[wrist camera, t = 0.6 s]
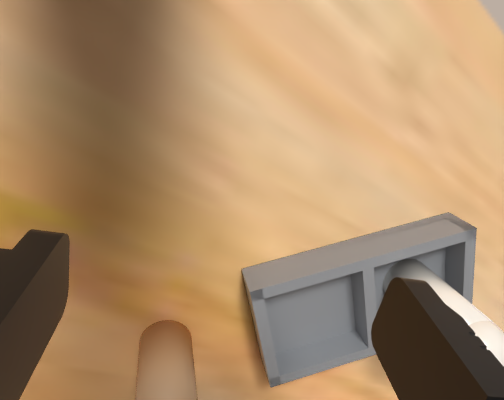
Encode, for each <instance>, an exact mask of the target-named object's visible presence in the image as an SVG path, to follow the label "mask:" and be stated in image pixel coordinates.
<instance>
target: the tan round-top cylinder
mask: <svg viewBox="0 0 504 400" xmlns="http://www.w3.org/2000/svg"><path fill="white" fill-rule="evenodd" d="M135 400H197V391H196V381H195V371H194V361H193V350H192V340H191V334H190V332H189V330H188V329H187V327H185V326H184V325H183V324H181V323H179V322H176V321H160V322H157V323H154V324H152V325H151V326H149V327H148V328H147V329H146V330H145V331H144V332H143V334H142V336H141V338H140V346H139V359H138V371H137V384H136V397H135Z"/></svg>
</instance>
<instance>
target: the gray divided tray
mask: <svg viewBox="0 0 504 400" xmlns="http://www.w3.org/2000/svg"><path fill="white" fill-rule="evenodd" d="M476 229H477V228H475V227H474V226H472V225H470V224H468V223H467V222H465V221H463V220H461V219H460V218H458V217H456V216H454V215H453V214H451V213H449V212H448V213H445V214H441V215H437V216H434V217H430V218H426V219H423V220H419V221H415V222H412V223H408V224H404V225H401V226H397V227H393V228H390V229H386V230H382V231H379V232H375V233H371V234H368V235H364V236H360V237H357V238H353V239H350V240H346V241H342V242H339V243H335V244H331V245H328V246H324V247H320V248H317V249H313V250H309V251H306V252H302V253H298V254H295V255H291V256H287V257H284V258H280V259H276V260H273V261H269V262H265V263H262V264H258V265H254V266H251V267H247V268H243V269H242V274H243V278H244V283H245V287H246V292H247V296H248V301H249V305H250V310H251V314H252V319H253V323H254V328H255V332H256V337H257V341H258V345H259V350H260V354H261V359H262V362H263V365H264V368H265V372H266V375H267V378H268V381H269V384H270V387H274V386H277V385H280V384H283V383H287V382H290V381H293V380H296V379H299V378H302V377H306V376H309V375H312V374H315V373H318V372H322V371H325V370H328V369H331V368H334V367H337V366H341V365H344V364H347V363H350V362H353V361H356V360H360V359H363V358H366V357H369V356H372V355H375V354H376V352H375V350H374V348H373V345H372V340H371V328H372V324H373V321H374V318H375V316H376V314H377V311H378V309H379V307H380V304H381V302H382V299H383V297H384V295H385V292H384V290H383V280H384V277H385V275H386V273H387V272H388V270H389V269H390V268H391V267H392V266H393V265H394V264H396V263H397V262H399V261H401V260H404V259H417V260H419V261H421V262H422V263H423V264H424V265H425V266H427V267H428V268H429V269H430V270H431V271H433V272H434V273H435V274H436V275H438V276H439V277H440V278H441V279H442V280H444V281H445V282H446V283H447V284H448V285H450V286H451V287H452V288H453V289H454V290H456V291H457V292H458V293H459V294H460V295H462V296H463V297H464V298H465V299H466V300H468V301H469V302H470V303H471V304H472V297H473V280H474V263H475V246H476Z"/></svg>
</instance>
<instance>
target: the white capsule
mask: <svg viewBox="0 0 504 400" xmlns="http://www.w3.org/2000/svg"><path fill="white" fill-rule="evenodd" d="M395 277H400V278H408V279H416V280H423V281H426V282H427V283H428V284H429V285H430V286H431V287H432V288H433V290H434V291H435V292H436V293H437V295H438V296H439V297H440V298H441V299H442V301H443V302H444V303H445V304H446V305H447V306H449V307H450V308H451V309H453V310H454V311H455V312H456V313H458V314H459V315H460V316H462V318H463V319H464V320H465V321H466V322H467V323H468V325H469V326H470V327H471V328H472V329H473V331H474V332H475V336H478V337H479V338H480V339H481V340H482V341H483V343H484V344H485V345H486V346H487V350H490V351H491V352H492V353H493V354H494V356H495V357H496V358H497V359H498V360H499V362H500V363H501V364H502V365H503V366H504V332H503V331H502V330H501V328H500V327H499V326H498V325H496V324H495V323H494V322H493V321H492V320H490V319H489V318H488V317H487V316H486V315H484V314H483V313H482V312H481V311H480V310H478V309H477V308H476V307H475V306H474V305H472V304H471V303H470V302H469V301H468V300H466V299H465V298H464V297H463V296H462V295H460V294H459V293H458V292H457V291H456V290H454V289H453V288H452V287H451V286H450V285H448V284H447V283H446V282H445V281H444V280H442V279H441V278H440V277H439V276H438V275H436V274H435V273H434V272H433V271H431V270H430V269H429V268H428V267H427V266H425V265H424V264H423V263H422V262H421V261H419V260H417V259H404V260H401V261H399V262H397V263H396V264H394V265H393V266H392V267H391V268H390V269H389V270H388V272H387V273H386V275H385V277H384V280H383V290H384V292H386V290H387V287H388V285H389V283H390V281H391V280H392V279H393V278H395Z"/></svg>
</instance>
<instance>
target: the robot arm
mask: <svg viewBox="0 0 504 400" xmlns="http://www.w3.org/2000/svg"><path fill="white" fill-rule="evenodd" d="M68 285H69V236H68V235H67V234H64V233H56V232H48V231H41V230H33V229H32V230H30V231H28V232H27V233H26V235H25V236H24V237H23V238H22V239H21V240H20V241H19V242H18V244H17V245H16V246H15V247H14V248H13V249H12V250H10V249H1V248H0V400H19V399H20V397H21V395H22V393H23V391H24V389H25V387H26V385H27V383H28V381H29V379H30V377H31V375H32V373H33V372H34V370H35V368H36V366H37V364H38V362H39V360H40V358H41V356H42V354H43V352H44V350H45V348H46V346H47V344H48V342H49V340H50V338H51V337H52V335H53V333H54V331H55V329H56V327H57V325H58V323H59V321H60V319H61V317H62V315H63V312H64V309H65V306H66V302H67V297H68ZM371 340H372V345H373V348H374V350H375V352H376V354H377V356H378V358H379V360H380V362H381V364H382V366H383V368H384V370H385V372H386V374H387V376H388V378H389V381H390V383H391V385H392V387H393V389H394V391H395V393H396V395H397V397H398V399H399V400H504V366H503V365H502V364H501V363H500V362H499V360H498V359H497V358H496V357H495V356H494V354H493V353H492V352H491V351H490V350H487V346H486V345H485V344H484V343H483V341H482V340H481V339H480V338H479V337H478V336H475V332H474V331H473V329H472V328H471V327H470V326H469V325H468V323H467V322H466V321H465V320H464V319H463V318H462V316H460V315H459V314H458V313H456V312H455V311H454V310H453V309H451V308H450V307H449V306H447V305H446V304H445V303H444V302H443V301H442V299H441V298H440V297H439V296H438V295H437V293H436V292H435V291H434V290H433V288H432V287H431V286H430V285H429V284H428V283H427V282H426V281H423V280H416V279H408V278H400V277H395V278H393V279H392V280H391V281H390V283H389V285H388V287H387V290H386V292H385V295H384V297H383V299H382V302H381V304H380V307H379V309H378V311H377V314H376V316H375V318H374V321H373V324H372V328H371Z"/></svg>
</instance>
